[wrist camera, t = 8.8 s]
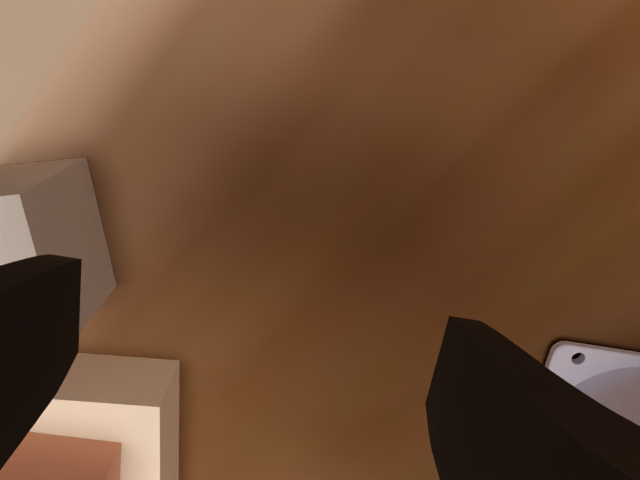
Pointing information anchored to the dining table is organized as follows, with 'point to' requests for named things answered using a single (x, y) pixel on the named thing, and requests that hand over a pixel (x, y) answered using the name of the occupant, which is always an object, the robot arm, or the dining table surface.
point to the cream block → (121, 411)
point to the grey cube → (56, 223)
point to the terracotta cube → (63, 459)
